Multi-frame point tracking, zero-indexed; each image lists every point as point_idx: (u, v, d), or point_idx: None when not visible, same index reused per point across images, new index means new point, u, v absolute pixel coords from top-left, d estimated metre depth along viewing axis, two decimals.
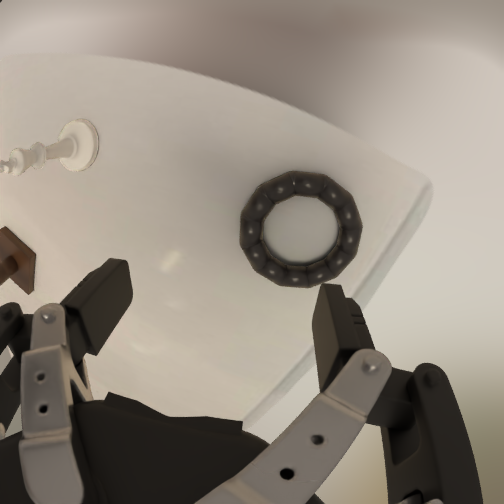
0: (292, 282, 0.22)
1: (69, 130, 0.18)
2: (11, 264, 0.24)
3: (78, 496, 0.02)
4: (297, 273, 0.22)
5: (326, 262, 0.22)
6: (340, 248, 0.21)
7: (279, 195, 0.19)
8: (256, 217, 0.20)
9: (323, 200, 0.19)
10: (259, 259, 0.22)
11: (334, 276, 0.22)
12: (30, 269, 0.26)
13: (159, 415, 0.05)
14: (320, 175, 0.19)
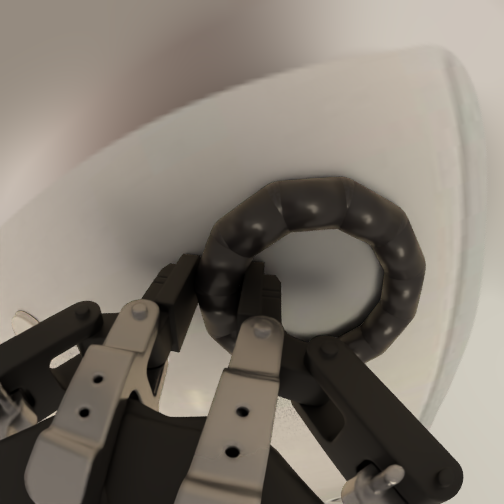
0: None
1: (15, 330, 0.15)
2: None
3: (78, 496, 0.02)
4: None
5: (385, 308, 0.11)
6: (393, 276, 0.10)
7: (224, 280, 0.10)
8: (224, 328, 0.11)
9: (302, 230, 0.09)
10: None
11: (411, 318, 0.10)
12: None
13: (159, 415, 0.05)
14: (261, 193, 0.09)
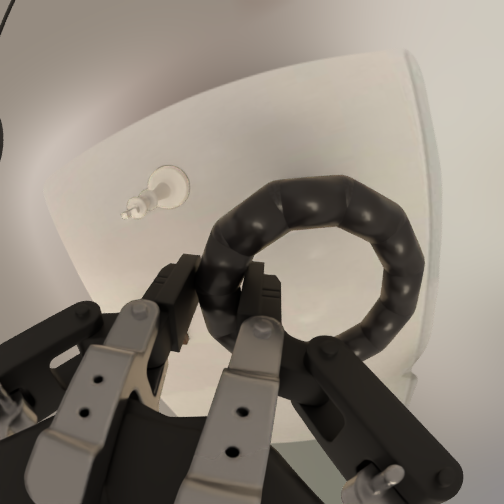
0: None
1: (155, 179, 0.28)
2: None
3: (78, 496, 0.02)
4: (352, 347, 0.12)
5: (385, 304, 0.11)
6: (393, 273, 0.10)
7: (225, 279, 0.10)
8: (226, 328, 0.11)
9: (302, 228, 0.09)
10: None
11: (410, 315, 0.10)
12: None
13: (159, 415, 0.05)
14: (261, 192, 0.09)
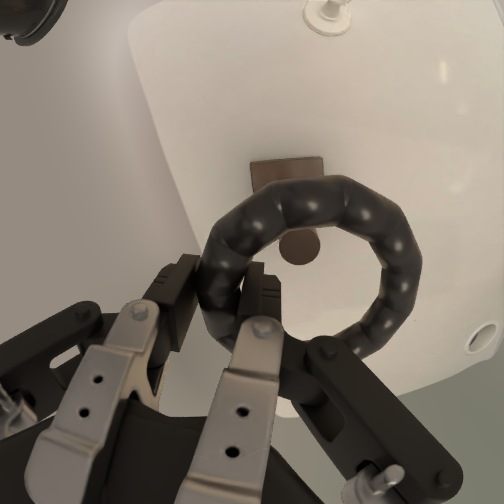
0: None
1: (317, 3, 0.17)
2: None
3: (78, 496, 0.02)
4: (351, 345, 0.12)
5: (384, 302, 0.11)
6: (391, 271, 0.10)
7: (225, 280, 0.10)
8: (226, 328, 0.11)
9: (301, 228, 0.09)
10: None
11: (409, 312, 0.10)
12: None
13: (159, 415, 0.05)
14: (260, 192, 0.09)
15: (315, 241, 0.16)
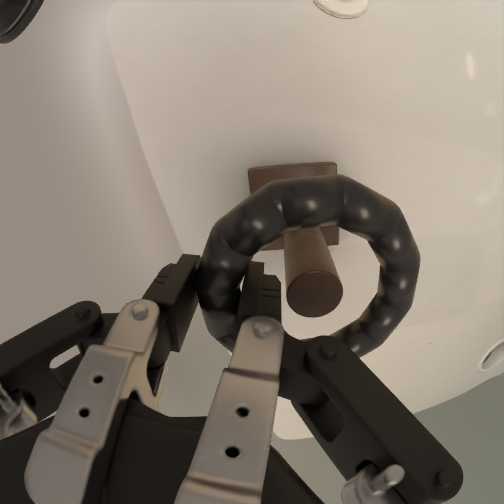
0: None
1: None
2: None
3: (78, 496, 0.02)
4: (351, 342, 0.12)
5: (382, 300, 0.11)
6: (390, 269, 0.10)
7: (225, 279, 0.10)
8: (226, 327, 0.11)
9: (301, 227, 0.09)
10: None
11: (407, 309, 0.11)
12: None
13: (159, 415, 0.05)
14: (260, 192, 0.09)
15: (336, 287, 0.11)
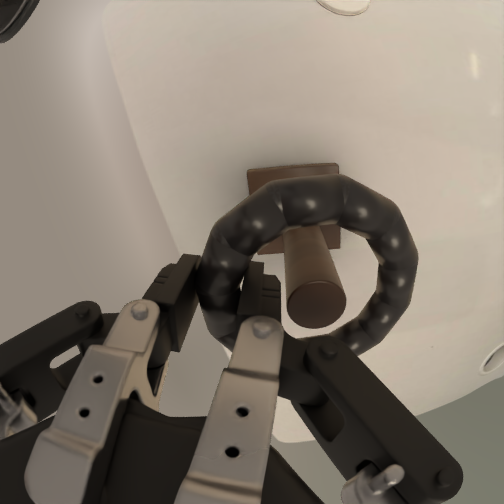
0: None
1: None
2: None
3: (78, 496, 0.02)
4: (350, 340, 0.12)
5: (381, 298, 0.11)
6: (388, 267, 0.10)
7: (226, 279, 0.10)
8: (227, 327, 0.11)
9: (301, 226, 0.09)
10: None
11: (406, 307, 0.11)
12: None
13: (159, 415, 0.05)
14: (260, 192, 0.09)
15: (340, 298, 0.10)
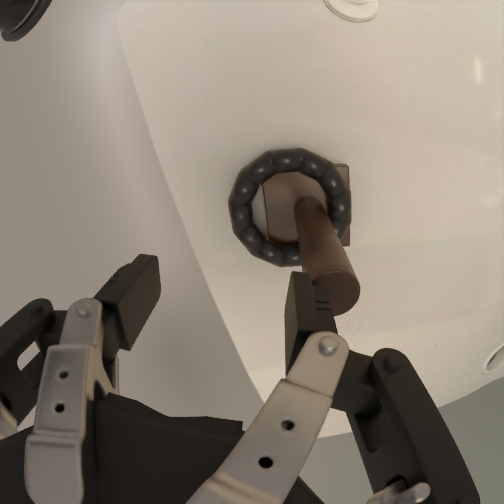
0: None
1: None
2: (317, 201, 0.21)
3: (78, 496, 0.02)
4: None
5: (331, 217, 0.21)
6: (331, 197, 0.20)
7: (244, 196, 0.20)
8: (243, 226, 0.21)
9: (281, 171, 0.19)
10: (274, 255, 0.22)
11: (346, 223, 0.20)
12: None
13: (160, 415, 0.05)
14: (262, 155, 0.19)
15: (354, 287, 0.11)
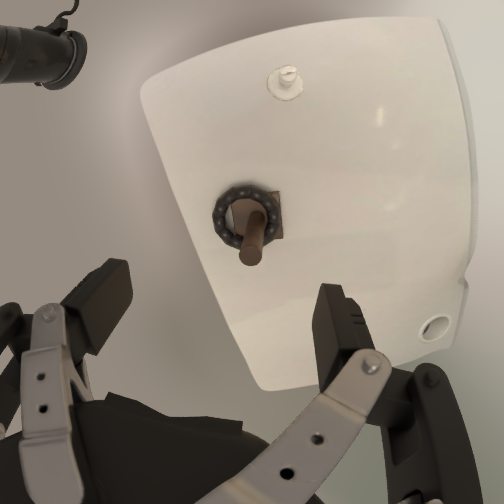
0: None
1: (277, 75, 0.31)
2: (260, 213, 0.38)
3: (78, 496, 0.02)
4: None
5: (268, 222, 0.39)
6: (267, 211, 0.38)
7: (220, 212, 0.38)
8: (220, 228, 0.39)
9: (239, 198, 0.37)
10: (237, 244, 0.40)
11: (277, 225, 0.38)
12: (280, 207, 0.39)
13: (159, 415, 0.05)
14: (229, 190, 0.37)
15: (258, 253, 0.29)
